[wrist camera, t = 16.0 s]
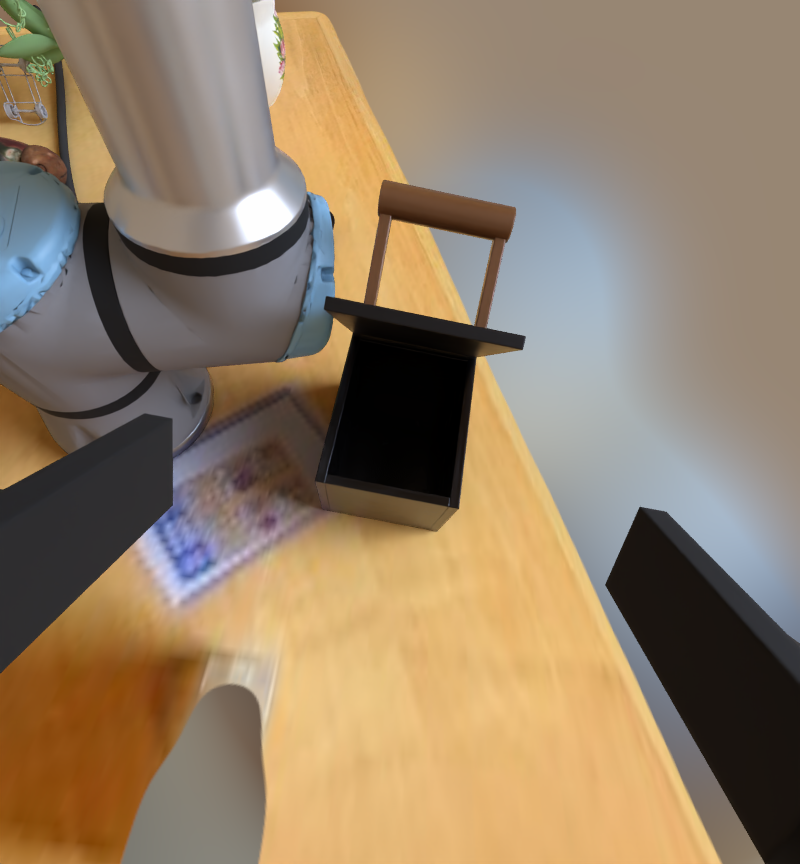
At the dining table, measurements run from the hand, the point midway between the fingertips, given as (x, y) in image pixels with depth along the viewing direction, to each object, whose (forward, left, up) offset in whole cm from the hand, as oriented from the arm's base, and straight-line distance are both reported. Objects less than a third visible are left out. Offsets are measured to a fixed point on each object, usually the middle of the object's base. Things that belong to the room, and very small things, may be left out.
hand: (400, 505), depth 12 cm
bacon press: (-10, +13, -15) cm, 22 cm away
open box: (-8, +11, -32) cm, 34 cm away
